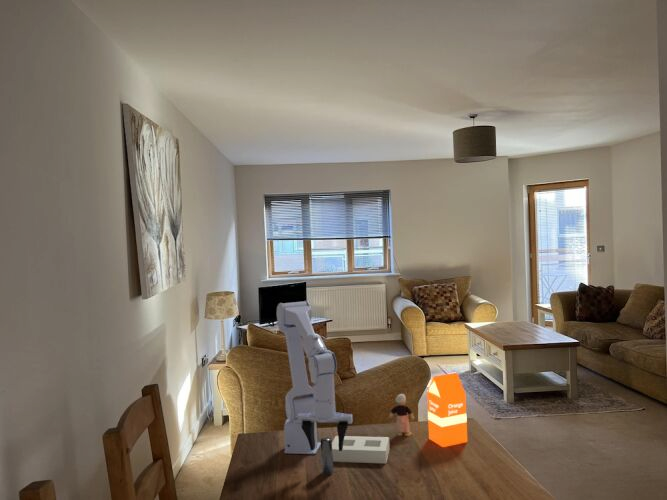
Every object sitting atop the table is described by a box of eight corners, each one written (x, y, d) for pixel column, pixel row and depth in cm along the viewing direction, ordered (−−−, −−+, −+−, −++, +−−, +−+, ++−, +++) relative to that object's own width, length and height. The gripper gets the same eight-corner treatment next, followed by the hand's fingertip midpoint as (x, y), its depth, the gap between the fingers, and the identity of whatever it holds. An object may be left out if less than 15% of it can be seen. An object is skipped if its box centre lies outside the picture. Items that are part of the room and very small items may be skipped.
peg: (321, 474, 139) (319, 441, 139) (323, 469, 142) (321, 437, 142) (332, 475, 139) (330, 441, 139) (334, 470, 142) (332, 437, 142)
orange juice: (428, 438, 161) (425, 373, 161) (453, 433, 164) (450, 369, 164) (442, 447, 154) (439, 379, 153) (468, 442, 157) (465, 375, 156)
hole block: (329, 461, 148) (328, 449, 148) (336, 447, 158) (335, 435, 157) (386, 463, 145) (385, 450, 145) (389, 449, 154) (389, 437, 154)
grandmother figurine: (414, 431, 167) (412, 392, 167) (415, 436, 163) (413, 395, 163) (390, 432, 168) (388, 392, 168) (390, 436, 164) (388, 396, 164)
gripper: (294, 402, 138) (296, 454, 138) (348, 403, 135) (351, 455, 135) (300, 394, 145) (303, 443, 145) (352, 395, 142) (355, 445, 142)
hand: (326, 449), depth 140 cm, fingers open, 7 cm apart
